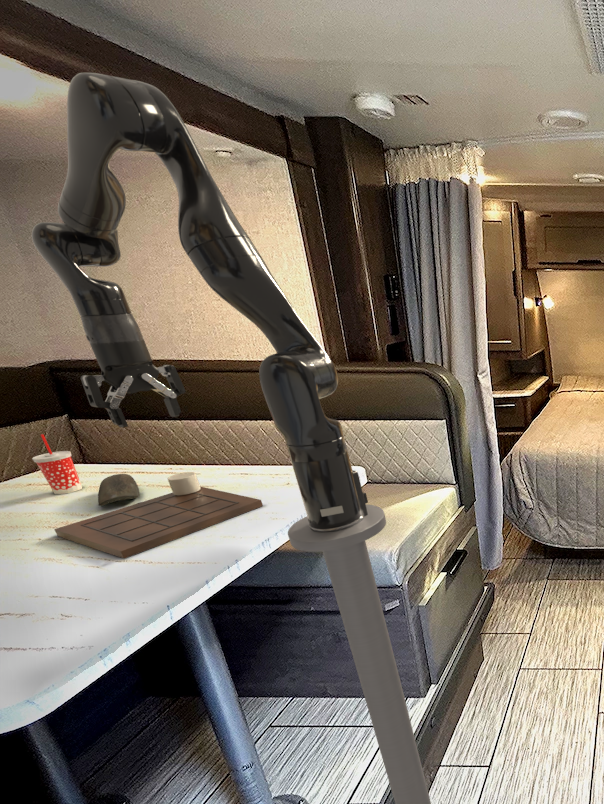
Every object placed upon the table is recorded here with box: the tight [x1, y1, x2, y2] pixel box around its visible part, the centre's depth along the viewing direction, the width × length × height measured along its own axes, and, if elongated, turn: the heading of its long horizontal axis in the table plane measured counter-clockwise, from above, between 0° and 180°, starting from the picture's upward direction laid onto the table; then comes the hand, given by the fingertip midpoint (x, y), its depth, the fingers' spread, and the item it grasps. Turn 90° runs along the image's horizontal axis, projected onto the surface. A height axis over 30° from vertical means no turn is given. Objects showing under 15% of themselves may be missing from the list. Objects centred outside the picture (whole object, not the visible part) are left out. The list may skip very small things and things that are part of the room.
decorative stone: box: [97, 473, 140, 507], centre depth 115 cm, size 17×6×4 cm, turn 43°
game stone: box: [167, 471, 202, 495], centre depth 113 cm, size 5×5×4 cm
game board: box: [54, 486, 264, 560], centre depth 103 cm, size 24×24×2 cm
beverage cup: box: [31, 433, 83, 495], centre depth 118 cm, size 6×6×14 cm
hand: (150, 421), depth 102 cm, fingers open, 8 cm apart
